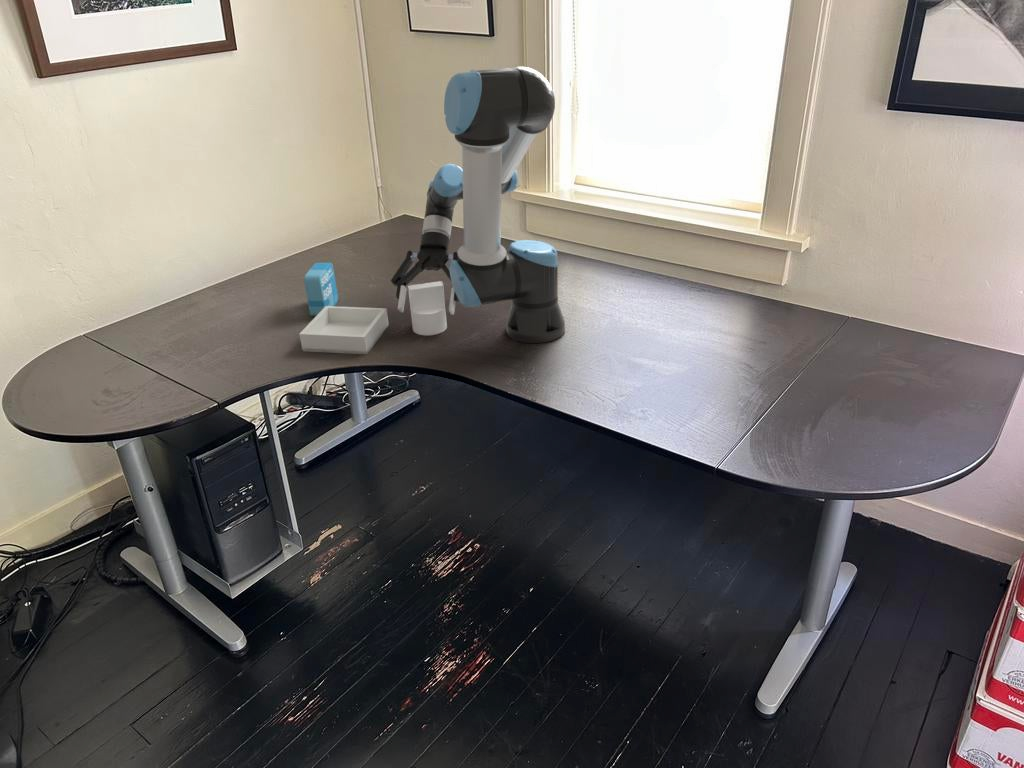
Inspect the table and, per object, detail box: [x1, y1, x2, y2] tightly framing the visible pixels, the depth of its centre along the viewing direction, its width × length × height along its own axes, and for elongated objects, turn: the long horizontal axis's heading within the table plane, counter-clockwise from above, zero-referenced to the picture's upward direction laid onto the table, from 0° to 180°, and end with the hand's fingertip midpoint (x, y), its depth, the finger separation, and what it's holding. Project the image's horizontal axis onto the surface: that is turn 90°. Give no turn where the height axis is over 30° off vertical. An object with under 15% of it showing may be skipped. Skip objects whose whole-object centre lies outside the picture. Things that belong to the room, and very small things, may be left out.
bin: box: [298, 305, 390, 356], centre depth 191 cm, size 17×17×5 cm
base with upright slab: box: [407, 280, 448, 336], centre depth 193 cm, size 9×9×12 cm
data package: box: [303, 262, 339, 317], centre depth 206 cm, size 12×4×12 cm, turn 175°
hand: (425, 311), depth 192 cm, fingers open, 13 cm apart
